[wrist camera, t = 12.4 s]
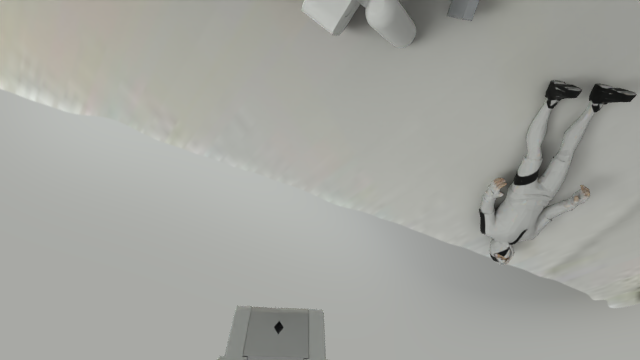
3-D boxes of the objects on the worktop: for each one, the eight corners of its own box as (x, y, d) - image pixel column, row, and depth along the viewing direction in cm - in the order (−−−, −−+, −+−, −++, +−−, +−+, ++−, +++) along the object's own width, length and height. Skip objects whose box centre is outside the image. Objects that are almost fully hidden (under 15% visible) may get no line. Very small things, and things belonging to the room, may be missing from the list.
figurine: (667, 95, 33) (546, 280, 48) (622, 83, 38) (526, 252, 54) (545, 86, 33) (464, 271, 49) (518, 75, 39) (452, 245, 54)
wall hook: (388, 71, 36) (392, 82, 27) (318, 17, 34) (298, 9, 25) (437, 7, 32) (460, -6, 23) (361, -56, 31) (355, -95, 22)
